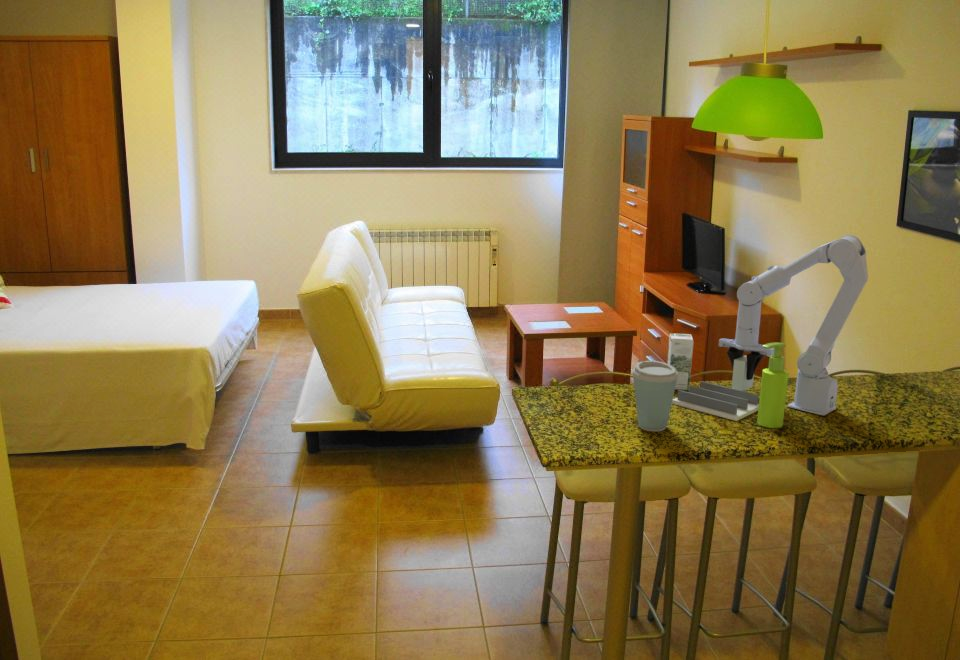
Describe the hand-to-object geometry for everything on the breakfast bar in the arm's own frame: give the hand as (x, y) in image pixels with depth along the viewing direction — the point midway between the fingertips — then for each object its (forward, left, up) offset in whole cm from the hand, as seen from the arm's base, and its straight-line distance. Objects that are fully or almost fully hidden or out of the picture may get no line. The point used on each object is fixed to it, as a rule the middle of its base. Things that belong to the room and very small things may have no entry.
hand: (743, 377), depth 235 cm
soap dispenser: (-15, +16, -5) cm, 23 cm away
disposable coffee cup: (+3, +39, -5) cm, 39 cm away
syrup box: (+15, +7, -5) cm, 17 cm away
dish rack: (0, +13, -5) cm, 14 cm away
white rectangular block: (0, 0, -3) cm, 3 cm away
